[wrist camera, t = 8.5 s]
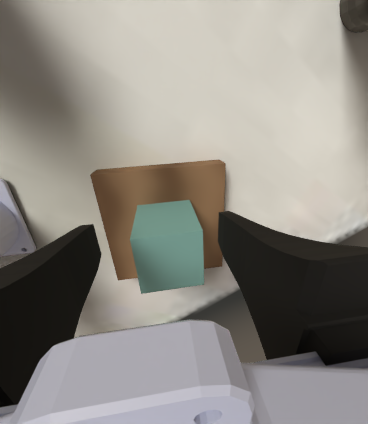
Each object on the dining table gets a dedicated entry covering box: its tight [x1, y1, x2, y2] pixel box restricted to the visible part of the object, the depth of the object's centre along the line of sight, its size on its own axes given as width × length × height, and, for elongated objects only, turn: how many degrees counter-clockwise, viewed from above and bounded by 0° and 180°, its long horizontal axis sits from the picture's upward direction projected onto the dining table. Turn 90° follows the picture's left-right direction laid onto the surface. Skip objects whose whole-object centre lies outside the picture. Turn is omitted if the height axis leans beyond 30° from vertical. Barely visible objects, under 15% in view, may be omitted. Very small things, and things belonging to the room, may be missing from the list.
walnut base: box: [91, 160, 225, 280], centre depth 21 cm, size 12×12×2 cm
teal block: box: [130, 200, 204, 294], centre depth 17 cm, size 5×5×6 cm
